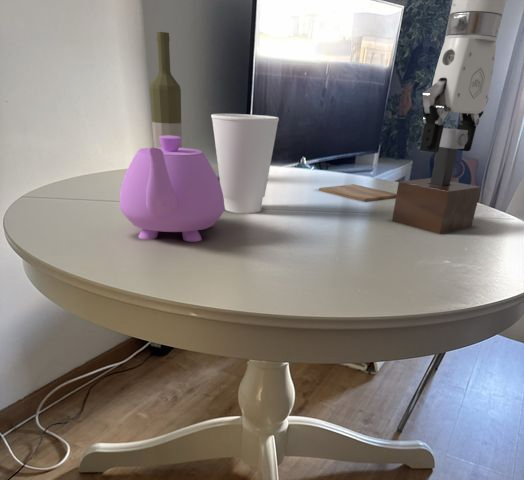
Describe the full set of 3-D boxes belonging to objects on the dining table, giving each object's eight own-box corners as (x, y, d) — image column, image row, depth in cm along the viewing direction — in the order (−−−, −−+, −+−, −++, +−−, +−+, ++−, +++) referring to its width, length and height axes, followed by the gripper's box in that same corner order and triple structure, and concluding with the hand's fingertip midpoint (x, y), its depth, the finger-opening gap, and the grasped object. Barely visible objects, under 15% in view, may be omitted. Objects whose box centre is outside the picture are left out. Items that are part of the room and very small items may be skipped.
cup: (252, 200, 98) (255, 114, 91) (286, 213, 90) (292, 118, 82) (200, 205, 92) (199, 113, 85) (231, 218, 84) (233, 117, 76)
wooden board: (353, 186, 119) (353, 184, 119) (399, 197, 110) (399, 194, 109) (318, 190, 112) (319, 187, 112) (364, 201, 103) (364, 198, 102)
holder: (424, 215, 94) (431, 177, 90) (471, 227, 87) (481, 186, 83) (391, 221, 88) (398, 181, 85) (439, 234, 81) (449, 191, 78)
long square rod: (425, 220, 90) (444, 128, 82) (449, 226, 86) (471, 130, 79) (416, 222, 88) (435, 128, 80) (440, 228, 85) (462, 130, 77)
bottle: (167, 181, 113) (159, 30, 99) (148, 177, 117) (139, 31, 103) (189, 178, 118) (185, 33, 104) (171, 174, 122) (165, 34, 108)
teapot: (215, 258, 64) (215, 147, 58) (99, 252, 64) (86, 140, 57) (229, 219, 83) (230, 133, 77) (140, 214, 83) (133, 128, 77)
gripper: (463, 21, 66) (435, 154, 74) (523, 36, 76) (492, 152, 84) (418, 24, 71) (396, 149, 79) (479, 37, 81) (454, 147, 89)
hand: (445, 150), depth 81 cm, fingers open, 9 cm apart
